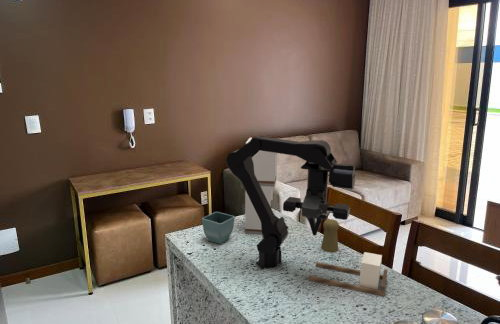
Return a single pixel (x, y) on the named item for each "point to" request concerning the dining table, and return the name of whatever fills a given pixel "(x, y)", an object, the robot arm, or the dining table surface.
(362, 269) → the cream block
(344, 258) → the dining table surface
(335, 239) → the olive bell shape
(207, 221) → the flower pot
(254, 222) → the tall white pillar
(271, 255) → the robot arm
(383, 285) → the board
